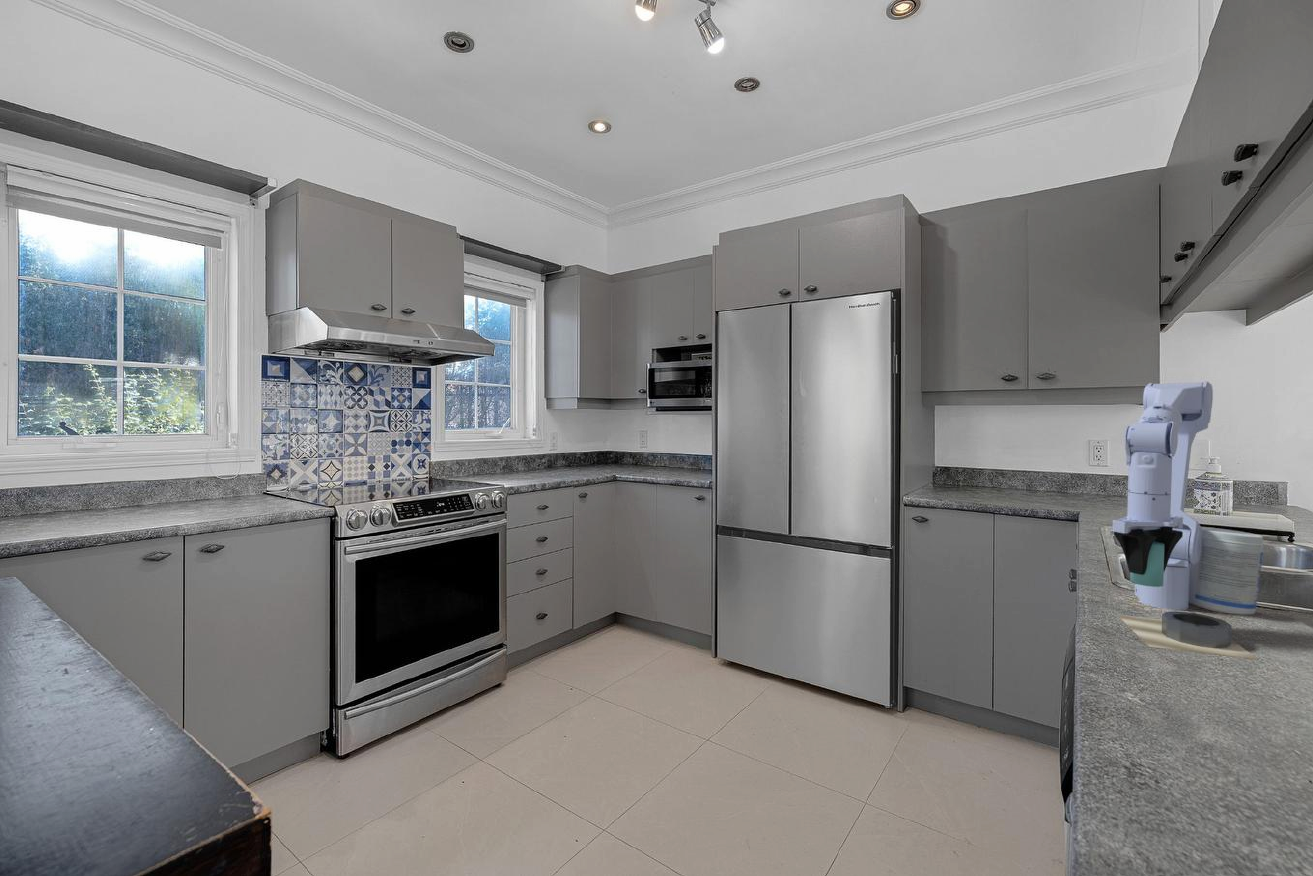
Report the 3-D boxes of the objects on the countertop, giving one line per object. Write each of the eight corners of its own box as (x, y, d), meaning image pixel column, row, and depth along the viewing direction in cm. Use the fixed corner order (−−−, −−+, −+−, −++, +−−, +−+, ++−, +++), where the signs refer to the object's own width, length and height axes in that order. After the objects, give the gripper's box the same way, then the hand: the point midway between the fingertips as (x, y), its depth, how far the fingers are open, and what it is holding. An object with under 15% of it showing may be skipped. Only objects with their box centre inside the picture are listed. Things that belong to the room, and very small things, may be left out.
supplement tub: (1269, 621, 108) (1281, 539, 107) (1211, 614, 109) (1223, 533, 108) (1224, 603, 117) (1235, 529, 117) (1172, 598, 118) (1182, 523, 118)
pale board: (1116, 620, 108) (1117, 614, 108) (1209, 630, 103) (1209, 624, 103) (1149, 652, 94) (1149, 646, 94) (1258, 666, 89) (1259, 659, 89)
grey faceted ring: (1154, 626, 102) (1155, 609, 102) (1215, 633, 99) (1216, 615, 99) (1173, 643, 95) (1174, 624, 95) (1240, 651, 92) (1241, 631, 92)
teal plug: (1126, 578, 106) (1127, 539, 106) (1157, 581, 105) (1158, 541, 104) (1134, 585, 102) (1136, 544, 102) (1167, 588, 101) (1168, 546, 100)
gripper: (1145, 498, 97) (1143, 582, 97) (1204, 493, 102) (1201, 574, 102) (1100, 492, 103) (1098, 571, 104) (1158, 488, 108) (1155, 564, 109)
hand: (1146, 572), depth 103 cm, fingers closed on teal plug, 4 cm apart
